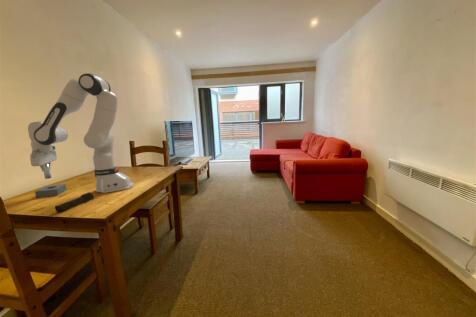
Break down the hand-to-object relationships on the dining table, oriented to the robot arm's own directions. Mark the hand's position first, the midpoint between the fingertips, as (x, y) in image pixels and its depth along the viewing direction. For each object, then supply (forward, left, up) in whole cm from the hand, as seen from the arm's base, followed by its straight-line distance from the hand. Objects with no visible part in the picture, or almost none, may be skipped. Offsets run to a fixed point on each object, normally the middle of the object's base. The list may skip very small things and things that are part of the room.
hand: (46, 170), depth 128 cm
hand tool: (-24, +29, -16) cm, 41 cm away
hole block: (0, 0, -16) cm, 16 cm away
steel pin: (0, 0, -5) cm, 5 cm away
